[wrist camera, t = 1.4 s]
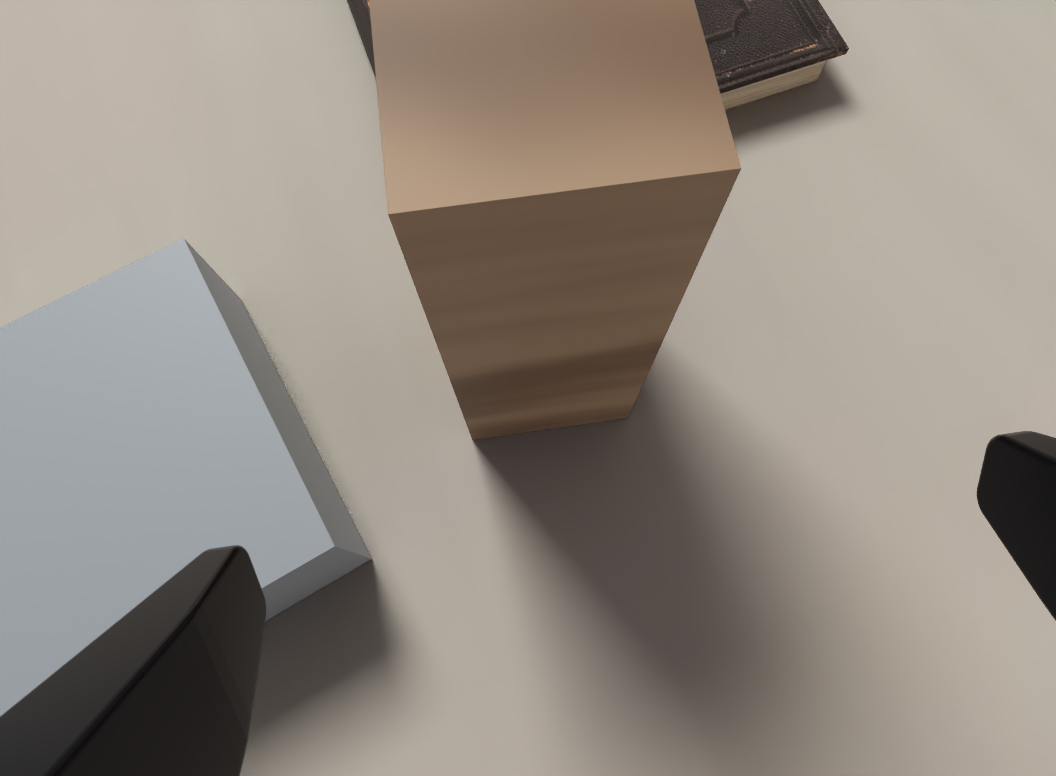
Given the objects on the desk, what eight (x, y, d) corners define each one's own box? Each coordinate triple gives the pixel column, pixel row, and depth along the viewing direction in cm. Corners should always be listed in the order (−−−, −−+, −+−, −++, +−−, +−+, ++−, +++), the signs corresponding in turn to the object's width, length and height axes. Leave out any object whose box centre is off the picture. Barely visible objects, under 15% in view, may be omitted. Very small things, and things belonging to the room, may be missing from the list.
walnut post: (627, 417, 22) (741, 168, 10) (472, 439, 22) (388, 214, 10) (600, 278, 24) (669, -89, 11) (455, 297, 24) (364, -54, 11)
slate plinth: (372, 559, 21) (335, 546, 17) (51, 746, 19) (-68, 778, 16) (240, 299, 24) (183, 238, 20) (-48, 445, 22) (-170, 410, 18)
